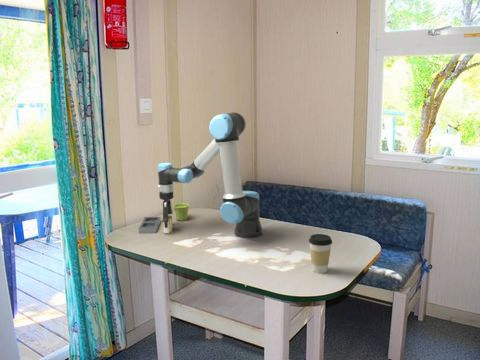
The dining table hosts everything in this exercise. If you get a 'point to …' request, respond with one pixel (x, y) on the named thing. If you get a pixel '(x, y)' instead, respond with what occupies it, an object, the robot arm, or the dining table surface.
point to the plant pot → (181, 211)
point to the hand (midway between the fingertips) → (168, 229)
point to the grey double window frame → (150, 225)
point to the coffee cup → (320, 252)
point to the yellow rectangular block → (169, 223)
